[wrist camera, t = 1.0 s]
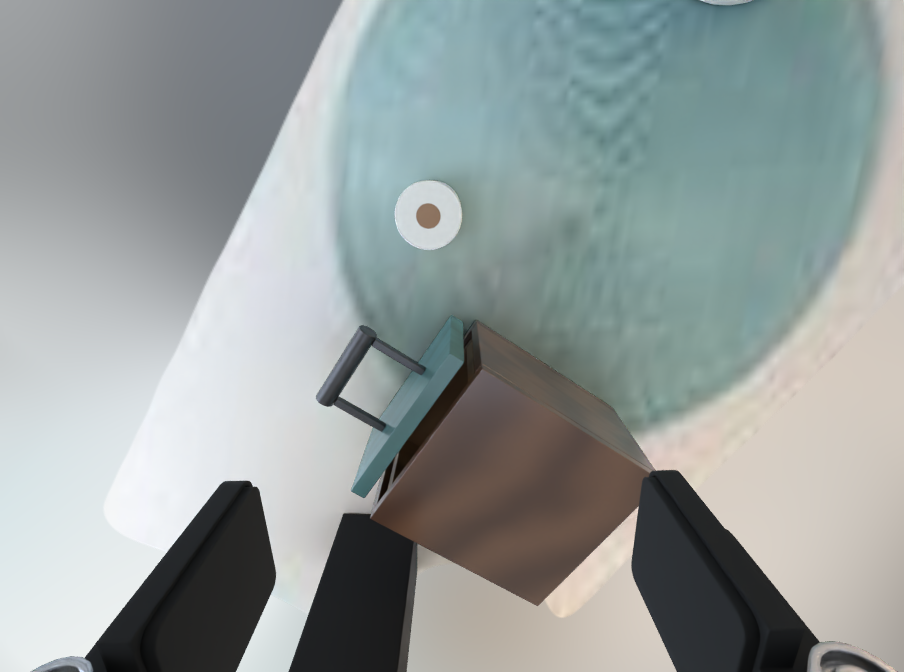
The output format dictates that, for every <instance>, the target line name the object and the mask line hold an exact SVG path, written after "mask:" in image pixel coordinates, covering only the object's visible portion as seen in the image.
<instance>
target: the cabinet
mask: <svg viewBox="0 0 904 672" xmlns="http://www.w3.org/2000/svg"><path fill="white" fill-rule="evenodd" d="M471 339H472V342H473V353H474V364H475V374H474V375H473V377H472V378H471V379H470V381H469V382H468V383H467V385H466V386H465V387H464V389H463V390H462V391H461V393H460V394H459V395H458V397H457V398H456V399H455V401H454V402H453V403H452V405H451V406H450V407H449V409H448V410H447V411H446V413H445V414H444V415H443V417H442V418H441V419H440V421H439V422H438V423H437V425H436V426H435V427H434V429H433V430H432V431H431V433H430V434H429V435H428V437H427V438H426V439H425V441H424V442H423V443H422V445H421V446H420V447H419V449H418V450H417V451H416V453H415V454H414V455H413V457H412V458H411V459H410V461H409V462H408V463H407V465H406V466H405V467H404V469H403V470H402V471H401V473H400V474H399V475H398V477H397V478H396V479H395V481H394V482H393V483H392V485H391V486H390V487H389V489H388V485H389V481H390V476H391V472H392V468H393V463H394V459H395V457H394V459H393V460H392V461H391V463H390V464H389V466H388V467H387V468H386V470H385V471H384V472H383V474H382V475H381V478H380V482H379V485H378V489H377V493H376V497H375V501H374V504H373V508H372V512H371V516H370V519H372V520H374V521H376V522H377V523H379V524H381V525H383V526H385V527H387V528H389V529H391V530H393V531H395V532H397V533H398V534H400V535H402V536H404V537H406V538H408V539H410V540H412V541H414V542H416V543H418V544H420V545H421V546H423V547H425V548H427V549H429V550H431V551H433V552H435V553H437V554H439V555H441V556H443V557H444V558H446V559H448V560H450V561H452V562H454V563H456V564H458V565H460V566H462V567H464V568H466V569H468V570H469V571H471V572H473V573H475V574H477V575H479V576H481V577H483V578H485V579H487V580H489V581H490V582H493V583H494V584H496V585H498V586H500V587H502V588H504V589H506V590H508V591H510V592H511V593H513V594H516V595H517V596H519V597H521V598H523V599H525V600H527V601H529V602H531V603H533V604H534V605H536V606H538V605H539V604H540V603H541V602H542V601H543V600H544V599H545V598H546V597H547V596H548V595H549V594H550V593H551V592H552V591H553V590H554V589H555V588H557V587H558V586H559V585H560V584H561V583H562V582H563V581H564V580H565V579H566V578H567V577H568V576H569V575H570V574H571V573H572V572H573V571H574V570H575V569H576V568H577V567H578V566H579V565H580V564H581V563H582V562H583V561H584V560H585V559H586V558H587V557H588V556H589V555H590V554H591V553H592V552H593V551H594V550H595V549H596V548H597V547H598V546H599V545H600V544H601V543H602V542H603V541H604V540H605V539H606V538H607V537H608V536H609V535H610V534H611V533H612V532H613V531H614V530H615V529H616V528H617V527H618V526H619V525H620V524H621V523H622V522H623V521H624V520H625V519H626V518H627V517H628V516H629V515H630V514H631V513H632V512H633V511H634V510H635V509H636V508H637V507H638V506H639V501H640V493H641V486H642V480H643V478H644V477H649V474H650V472H651V471H656V470H655V469H654V467H653V466H652V464H651V463H650V462H649V460H648V459H647V457H646V456H645V454H644V453H643V451H642V450H641V448H640V447H639V445H638V444H637V443H636V441H635V440H634V438H633V437H632V435H631V434H630V432H629V431H628V429H627V428H626V426H625V425H624V423H623V422H622V421H621V419H620V418H619V416H618V415H617V413H616V412H615V410H614V409H613V408H612V407H611V406H609V405H608V404H606V403H605V402H603V401H601V400H600V399H598V398H597V397H595V396H594V395H592V394H591V393H589V392H588V391H586V390H584V389H583V388H581V387H580V386H578V385H577V384H575V383H574V382H572V381H571V380H569V379H567V378H566V377H564V376H563V375H561V374H560V373H558V372H557V371H555V370H553V369H552V368H550V367H549V366H547V365H546V364H544V363H543V362H541V361H540V360H538V359H536V358H535V357H533V356H532V355H530V354H529V353H527V352H526V351H524V350H523V349H521V348H519V347H518V346H516V345H515V344H513V343H512V342H510V341H509V340H507V339H506V338H504V337H502V336H501V335H499V334H498V333H496V332H495V331H493V330H492V329H490V328H488V327H487V326H485V325H484V324H482V323H481V322H479V321H478V320H476V321H475V322H474V323H473V325H472V326H471V328H470V329H469V330H468V332H467V333H466V335H465V336H464V337H463V341H464V348H465V346H466V345H467V344H468V342H469V341H470V340H471ZM387 489H388V490H387Z"/></svg>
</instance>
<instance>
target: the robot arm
mask: <svg viewBox="0 0 904 672" xmlns="http://www.w3.org/2000/svg"><path fill="white" fill-rule="evenodd" d="M700 1H703V2H706V3H709V4H716V5H735V4H741V3H747V2H750V1H753V0H700ZM632 573H633V577H634V580H635V582H636V585H637V587H638V589H639V591H640V593H641V595H642V597H643V600H644V602H645V604H646V606H647V608H648V610H649V613H650V615H651V617H652V619H653V621H654V623H655V625H656V628H657V630H658V632H659V634H660V636H661V638H662V641H663V643H664V645H665V647H666V649H667V651H668V653H669V656H670V658H671V660H672V662H673V664H674V666H675V668H676V671H677V672H897V671H896V670H895V669H894V668H892V667H891V666H890V665H888V664H887V663H885V662H884V661H883V660H881V659H879V658H878V657H876V656H874V655H872V654H870V653H869V652H867V651H865V650H863V649H860V648H857V647H855V646H852V645H849V644H846V643H841V642H835V641H827V642H819V641H818V639H817V638H816V637H815V636H814V634H813V633H812V632H811V631H810V629H809V628H808V627H807V626H806V625H805V623H804V622H803V621H802V620H801V618H800V617H799V616H798V615H797V613H796V612H795V611H794V610H793V608H792V607H791V606H790V605H789V604H788V602H787V601H786V600H785V599H784V598H783V596H782V595H781V594H780V592H779V591H778V590H777V589H776V588H775V586H774V585H773V584H772V583H771V581H770V580H769V579H768V578H767V576H766V575H765V574H764V573H763V571H762V570H761V569H760V568H759V566H758V565H757V564H756V563H755V562H754V560H753V559H752V558H751V557H750V555H749V554H748V553H747V552H746V550H745V549H744V548H743V547H742V546H741V544H740V543H739V542H738V541H737V539H736V538H735V537H734V536H733V535H732V534H731V533H730V532H729V531H728V530H726V529H725V528H724V527H723V526H722V525H721V523H720V522H719V521H718V520H717V518H716V517H715V516H714V515H713V513H712V512H711V511H710V510H709V508H708V507H707V506H706V505H705V503H704V502H703V501H702V500H701V499H700V497H699V496H698V495H697V493H696V492H695V491H694V490H693V488H692V487H691V486H690V485H689V483H688V482H687V481H686V480H685V478H684V477H683V476H682V475H681V473H679V472H678V471H676V470H661V471H651V472H650V474H649V477H644V478H643V480H642V486H641V493H640V501H639V509H638V517H637V524H636V532H635V540H634V547H633V555H632ZM275 580H276V570H275V565H274V560H273V555H272V550H271V545H270V541H269V536H268V531H267V526H266V521H265V516H264V511H263V507H262V502H261V497H260V492H259V489H258V488H257V487H253V486H252V484H251V482H250V481H225V482H223V483H222V484H221V485H220V486H219V487H218V488H217V490H216V491H215V492H214V493H213V495H212V496H211V497H210V499H209V500H208V501H207V502H206V504H205V505H204V506H203V507H202V509H201V510H200V511H199V513H198V514H197V515H196V516H195V518H194V519H193V520H192V521H191V523H190V524H189V525H188V527H187V528H186V529H185V530H184V532H183V533H182V534H181V535H180V537H179V538H178V539H177V540H176V542H175V543H174V544H173V546H172V547H171V548H170V549H169V551H168V552H167V553H166V555H165V556H164V557H163V558H162V560H161V561H160V562H159V563H158V565H157V566H156V567H155V569H154V570H153V571H152V573H151V574H150V575H149V576H148V577H147V579H146V580H145V581H144V583H143V584H142V585H141V586H140V588H139V589H138V590H137V591H136V593H135V594H134V595H133V597H132V598H131V599H130V600H129V602H128V603H127V604H126V605H125V607H124V608H123V609H122V610H121V612H120V613H119V614H118V616H117V617H116V618H115V619H114V621H113V622H112V623H111V624H110V626H109V627H108V628H107V630H106V631H105V632H104V634H103V635H102V636H101V637H100V639H99V640H98V641H97V642H96V644H95V645H94V647H93V648H92V649H91V650H90V652H89V653H88V654H87V655H86V657H85V658H83V657H74V656H70V657H66V658H61V659H56V660H54V661H51V662H49V663H47V664H44V665H42V666H40V667H38V668H36V669H35V670H33V671H32V672H236V670H237V668H238V666H239V663H240V661H241V659H242V657H243V655H244V653H245V650H246V648H247V646H248V644H249V641H250V639H251V637H252V634H253V633H254V630H255V628H256V626H257V623H258V621H259V619H260V617H261V615H262V612H263V610H264V608H265V606H266V604H267V601H268V599H269V597H270V595H271V592H272V590H273V588H274V585H275Z"/></svg>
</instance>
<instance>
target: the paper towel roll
mask: <svg viewBox="0 0 904 672" xmlns="http://www.w3.org/2000/svg"><path fill="white" fill-rule="evenodd" d="M395 222H396V226H397V228H398V231H399V232H400V234H401V236H402V237H403V238H404V239H405V240H406V241H407V242H408V243H409V244H411V245H412V246H414V247H416V248H419V249H423V250H435V249H439V248H442V247H444V246H446V245H447V244H449V243H450V242H451V241H452V240H453V239H454V238H455V236H456V235H457V233H458V231H459V229H460V226H461V223H462V209H461V203H460V200H459V197H458V195H457V194H456V192H455V191H454V190H453V189H452V188H451V187H450V186H449V185H447V184H445V183H443V182H440V181H435V180H424V181H419V182H416V183H414V184H412V185H410V186H409V187H407V188H406V189H405V190H404V191H403V192H402V194H401V195H400V197H399V199H398V200H397V203H396V207H395Z"/></svg>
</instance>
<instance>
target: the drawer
mask: <svg viewBox="0 0 904 672" xmlns="http://www.w3.org/2000/svg"><path fill="white" fill-rule="evenodd" d="M376 337H377V334H376V332H375V331H374V330H372V329H371V328H369V327H367V326H364V325H361V326H359V328H358V330H357V331H356V333H355V334H354V336H353V338H352V339H351V341H350V342H349V344H348V346H347V347H346V349H345V350H344V352H343V354H342V355H341V357H340V358H339V360H338V362H337V363H336V365H335V366H334V368H333V370H332V371H331V373H330V374H329V376H328V378H327V379H326V381H325V382H324V384H323V386H322V387H321V389H320V390H319V392H318V394H317V395H316V399H317V401H318V402H319V403H320V404H322V405H324V406H327V407H330V406H332V405H333V404H334V405H335V406H337V407H338V408H340V409H342V410H344V411H345V412H347V413H349V414H351V415H352V416H354V417H356V418H358V419H360V420H361V421H363V422H365V423H367V424H368V425H370V426H372V427H373V428H372V431H371V434H370V437H369V440H368V443H367V446H366V449H365V451H364V454H363V457H362V460H361V463H360V466H359V469H358V472H357V475H356V477H355V480H354V483H353V486H352V489H351V492H353V493H355V494H357V495H359V496H361V497H363V498H365V497H366V495H367V494H368V493H369V491H370V490H371V489H372V487H373V486H374V485H375V483H376V482H377V480H378V479H379V478H380V476H381V475H382V474H383V472H384V471H385V470H386V468H387V467H388V466H389V464H390V463H391V461H392V460H393V459H394V457H395V459H394V463H393V468H392V472H391V476H390V481H389V485H388V489H389V487H390V486H391V485H392V483H393V482H394V481H395V479H396V478H397V477H398V475H399V474H400V473H401V471H402V470H403V469H404V467H405V466H406V465H407V463H408V462H409V461H410V459H411V458H412V457H413V455H414V454H415V453H416V451H417V450H418V449H419V447H420V446H421V445H422V443H423V442H424V441H425V439H426V438H427V437H428V435H429V434H430V433H431V431H432V430H433V429H434V427H435V426H436V425H437V423H438V422H439V421H440V419H441V418H442V417H443V415H444V414H445V413H446V411H447V410H448V409H449V407H450V406H451V405H452V403H453V402H454V401H455V399H456V398H457V397H458V395H459V394H460V393H461V391H462V390H463V389H464V387H465V386H466V385H467V383H468V382H469V381H470V379H471V378H472V377H473V375H474V374H475V364H474V353H473V342H472V339H471V340H470V341H469V342H468V344H467V345H466V346H465V348H464V341H463V322H462V321H461V320H459V319H457V318H456V317H454V316H453V315H451V316H450V317H449V319H448V320H447V322H446V323H445V325H444V326H443V328H442V329H441V330H440V332H439V333H438V335H437V336H436V338H435V339H434V341H433V342H432V343H431V345H430V346H429V348H428V349H427V351H426V352H425V353H424V355H423V356H422V358H421V359H420V361H419V362H416V361H414V360H413V359H411V358H409V357H408V356H406V355H405V354H403V353H401V352H400V351H398V350H396V349H395V348H393V347H391V346H390V345H388V344H386V343H385V342H383V341H381V340H380V339H378V338H376ZM371 345H372V346H373V347H374V348H376V349H378V350H379V351H381V352H383V353H384V354H386V355H388V356H389V357H391V358H393V359H394V360H396V361H398V362H399V363H401V364H403V365H404V366H406V367H408V368H409V369H411V370H413V371H412V372H411V374H410V375H409V377H408V378H407V379H406V381H405V382H404V384H403V385H402V387H401V388H400V389H399V391H398V392H397V394H396V395H395V397H394V398H393V400H392V401H391V402H390V404H389V405H388V407H387V408H386V410H385V411H384V413H383V414H382V415H381V417H380V418H379V419H378V418H376V417H374V416H372V415H371V414H369V413H367V412H365V411H364V410H362V409H360V408H358V407H357V406H355V405H353V404H351V403H350V402H348V401H346V400H344V399H343V398H341V397H338V396H339V395H340V393H341V392H342V390H343V389H344V387H345V386H346V384H347V382H348V381H349V379H350V378H351V376H352V375H353V373H354V372H355V370H356V368H357V367H358V365H359V364H360V362H361V361H362V359H363V358H364V356H365V355H366V353H367V351H368V350H369V348H370V347H371ZM388 489H387V490H388Z"/></svg>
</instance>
